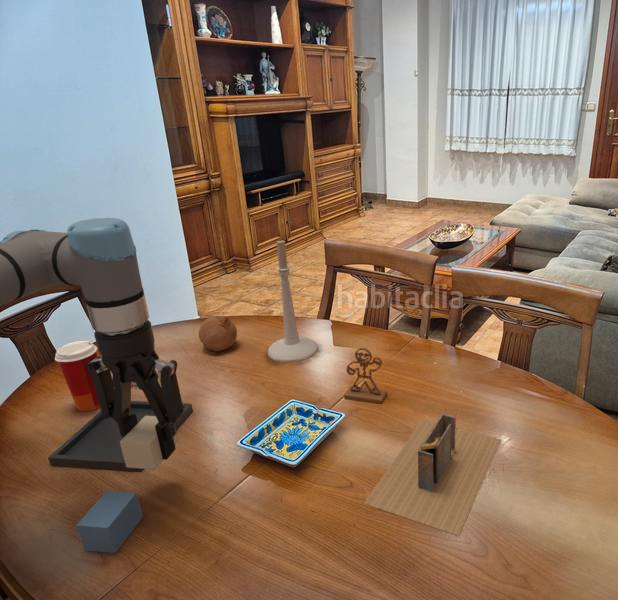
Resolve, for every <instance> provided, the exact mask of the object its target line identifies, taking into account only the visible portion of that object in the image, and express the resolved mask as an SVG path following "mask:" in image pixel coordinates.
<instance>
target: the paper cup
mask: <svg viewBox="0 0 618 600" xmlns="http://www.w3.org/2000/svg"><path fill="white" fill-rule="evenodd" d="M97 352H98V347H97V345H95V344H94V343H93V342H91V341H90V340H77V341H72V342H69V343H66V344H64V345H61V346H60V347H59V348H58V349H57V350H56V352H55V354H54V355H55V357H54V361H56V362H58V364H59V366H60V369H61V372H62V375H63V377H64V380H65V383H66V384H67V388H68V389H69V392H70V395H71V398H72V400H73V402H74V404H75V406H76V409H77V410H78V411H80V412H90V411H94V410H96V409H99V408H100V404H99V400H98V396H97V392H96V389H95V385H94V381H93V377H92V376H91V374H90V373H89V371H88V370H87V368H86V365H87V364H88V363H90V362H91V361H92V360H94V359H95V358H97V357H98V353H97Z"/></svg>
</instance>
